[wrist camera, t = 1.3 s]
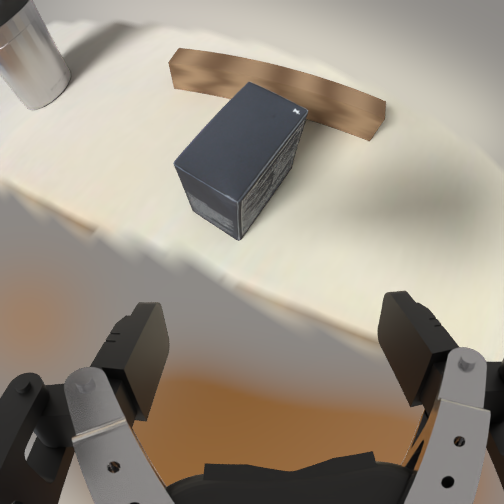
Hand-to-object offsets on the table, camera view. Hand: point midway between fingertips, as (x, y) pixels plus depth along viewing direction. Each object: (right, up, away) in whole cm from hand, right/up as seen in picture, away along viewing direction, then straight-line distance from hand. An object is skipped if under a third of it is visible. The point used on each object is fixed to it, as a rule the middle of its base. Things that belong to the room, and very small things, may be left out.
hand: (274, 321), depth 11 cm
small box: (-2, +9, +22) cm, 24 cm away
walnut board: (+2, +21, +25) cm, 33 cm away
